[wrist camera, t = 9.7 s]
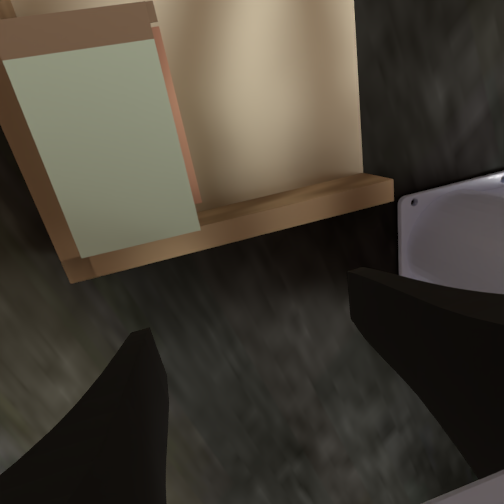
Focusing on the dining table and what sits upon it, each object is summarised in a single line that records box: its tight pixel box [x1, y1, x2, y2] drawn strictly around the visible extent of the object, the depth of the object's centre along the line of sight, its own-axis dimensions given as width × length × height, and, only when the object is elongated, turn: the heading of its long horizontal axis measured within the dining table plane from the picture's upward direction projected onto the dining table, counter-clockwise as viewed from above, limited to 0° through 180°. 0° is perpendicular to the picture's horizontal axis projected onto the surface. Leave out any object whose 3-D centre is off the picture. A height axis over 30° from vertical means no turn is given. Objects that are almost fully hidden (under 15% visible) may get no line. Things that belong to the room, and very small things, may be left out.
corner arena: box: [0, 0, 394, 284], centre depth 15 cm, size 17×17×4 cm
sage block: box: [0, 1, 201, 258], centre depth 14 cm, size 8×4×6 cm, turn 10°
